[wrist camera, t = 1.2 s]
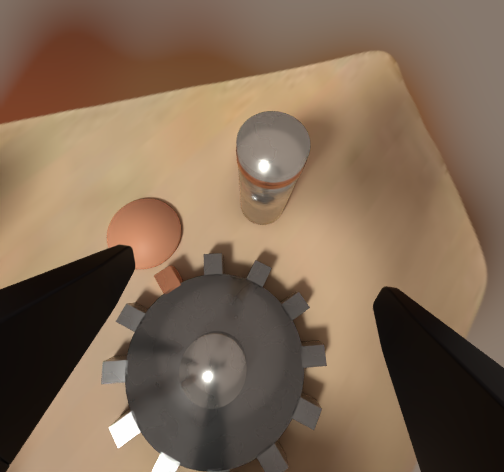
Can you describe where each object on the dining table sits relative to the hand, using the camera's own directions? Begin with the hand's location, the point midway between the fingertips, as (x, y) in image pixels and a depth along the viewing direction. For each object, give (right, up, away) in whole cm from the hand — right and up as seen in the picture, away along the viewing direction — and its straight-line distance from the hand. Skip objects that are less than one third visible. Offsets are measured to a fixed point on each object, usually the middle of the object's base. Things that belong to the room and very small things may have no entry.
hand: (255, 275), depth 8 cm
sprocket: (-3, -9, +12) cm, 15 cm away
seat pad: (-11, +2, +14) cm, 18 cm away
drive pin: (+1, +5, +15) cm, 16 cm away
